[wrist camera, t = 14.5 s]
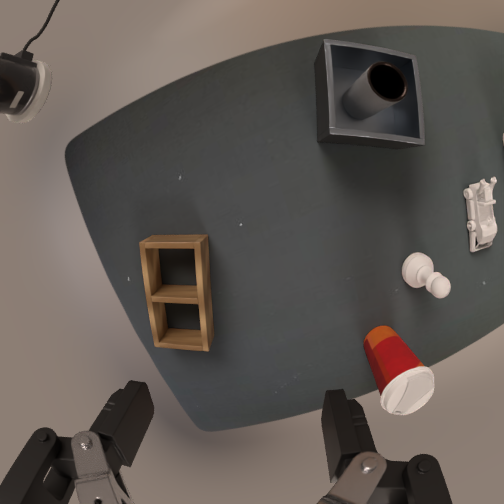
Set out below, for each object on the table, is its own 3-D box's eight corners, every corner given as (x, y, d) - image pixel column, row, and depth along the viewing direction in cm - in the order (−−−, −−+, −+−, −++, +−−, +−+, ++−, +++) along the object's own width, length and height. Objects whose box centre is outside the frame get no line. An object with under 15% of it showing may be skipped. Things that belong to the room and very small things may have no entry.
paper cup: (384, 364, 42) (413, 420, 29) (348, 353, 42) (371, 414, 28) (409, 326, 40) (449, 377, 27) (373, 312, 40) (409, 367, 26)
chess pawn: (396, 263, 38) (425, 285, 29) (422, 245, 37) (455, 263, 28) (407, 290, 38) (434, 316, 30) (432, 273, 38) (463, 295, 29)
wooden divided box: (152, 234, 39) (139, 242, 34) (208, 234, 38) (200, 242, 34) (164, 331, 43) (154, 346, 38) (214, 335, 42) (208, 351, 38)
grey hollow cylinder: (345, 83, 31) (370, 54, 21) (377, 94, 31) (410, 71, 21) (339, 112, 32) (363, 91, 22) (371, 124, 32) (405, 108, 22)
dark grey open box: (314, 63, 31) (323, 38, 24) (392, 73, 30) (416, 55, 23) (317, 142, 34) (329, 134, 27) (397, 149, 33) (425, 145, 26)
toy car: (467, 253, 36) (482, 261, 32) (460, 178, 33) (477, 180, 29) (491, 244, 36) (506, 251, 31) (485, 173, 33) (501, 175, 29)
